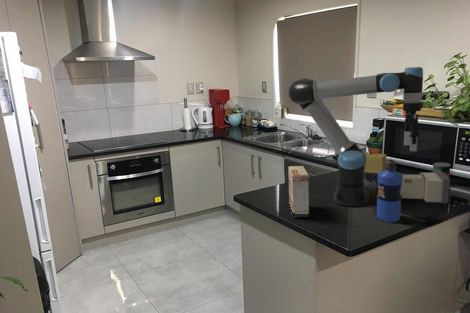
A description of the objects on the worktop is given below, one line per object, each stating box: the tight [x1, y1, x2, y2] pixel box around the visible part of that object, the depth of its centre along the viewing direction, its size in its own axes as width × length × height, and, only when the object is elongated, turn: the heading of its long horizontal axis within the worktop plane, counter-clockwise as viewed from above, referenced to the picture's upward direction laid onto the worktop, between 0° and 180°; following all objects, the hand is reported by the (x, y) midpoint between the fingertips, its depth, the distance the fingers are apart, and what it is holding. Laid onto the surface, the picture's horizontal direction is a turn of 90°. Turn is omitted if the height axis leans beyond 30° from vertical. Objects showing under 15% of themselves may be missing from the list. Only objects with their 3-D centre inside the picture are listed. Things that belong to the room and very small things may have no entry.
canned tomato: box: [432, 161, 451, 179], centre depth 190 cm, size 8×8×11 cm
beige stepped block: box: [419, 170, 451, 204], centre depth 173 cm, size 9×16×11 cm, turn 166°
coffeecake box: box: [288, 165, 310, 215], centre depth 163 cm, size 15×7×20 cm, turn 178°
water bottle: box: [376, 159, 404, 223], centre depth 150 cm, size 9×9×25 cm
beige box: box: [400, 174, 425, 200], centre depth 175 cm, size 9×6×10 cm
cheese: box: [364, 153, 387, 174], centre depth 221 cm, size 10×11×10 cm
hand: (409, 148), depth 172 cm, fingers open, 13 cm apart
